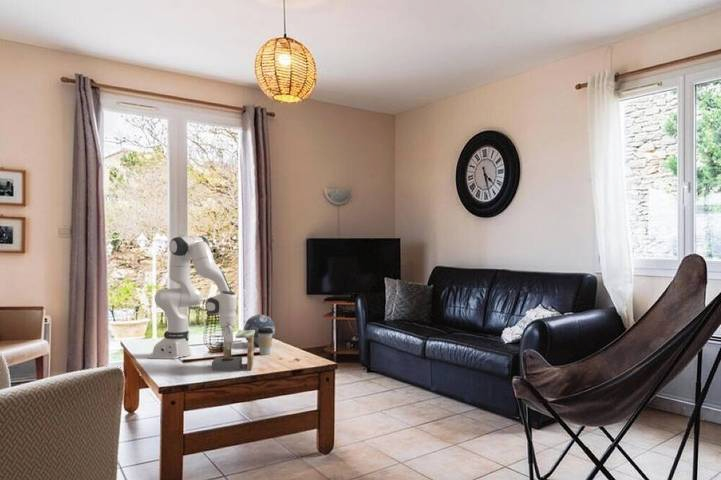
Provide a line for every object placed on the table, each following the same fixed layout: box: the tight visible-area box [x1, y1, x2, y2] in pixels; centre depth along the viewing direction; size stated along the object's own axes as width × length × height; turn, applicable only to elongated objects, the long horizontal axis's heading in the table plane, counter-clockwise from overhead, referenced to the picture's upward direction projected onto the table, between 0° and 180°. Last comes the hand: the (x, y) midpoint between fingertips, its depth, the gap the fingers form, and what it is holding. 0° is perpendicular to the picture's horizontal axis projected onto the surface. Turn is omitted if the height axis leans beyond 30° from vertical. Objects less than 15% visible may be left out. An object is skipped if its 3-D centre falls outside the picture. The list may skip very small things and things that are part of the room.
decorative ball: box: [243, 314, 276, 347], centre depth 315 cm, size 20×20×20 cm
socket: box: [211, 356, 243, 371], centre depth 259 cm, size 14×12×4 cm
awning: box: [235, 329, 255, 371], centre depth 260 cm, size 8×16×18 cm, turn 8°
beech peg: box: [222, 338, 233, 359], centre depth 259 cm, size 4×4×12 cm
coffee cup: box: [257, 328, 273, 356], centre depth 291 cm, size 9×9×15 cm
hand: (227, 348), depth 259 cm, fingers closed on beech peg, 4 cm apart
